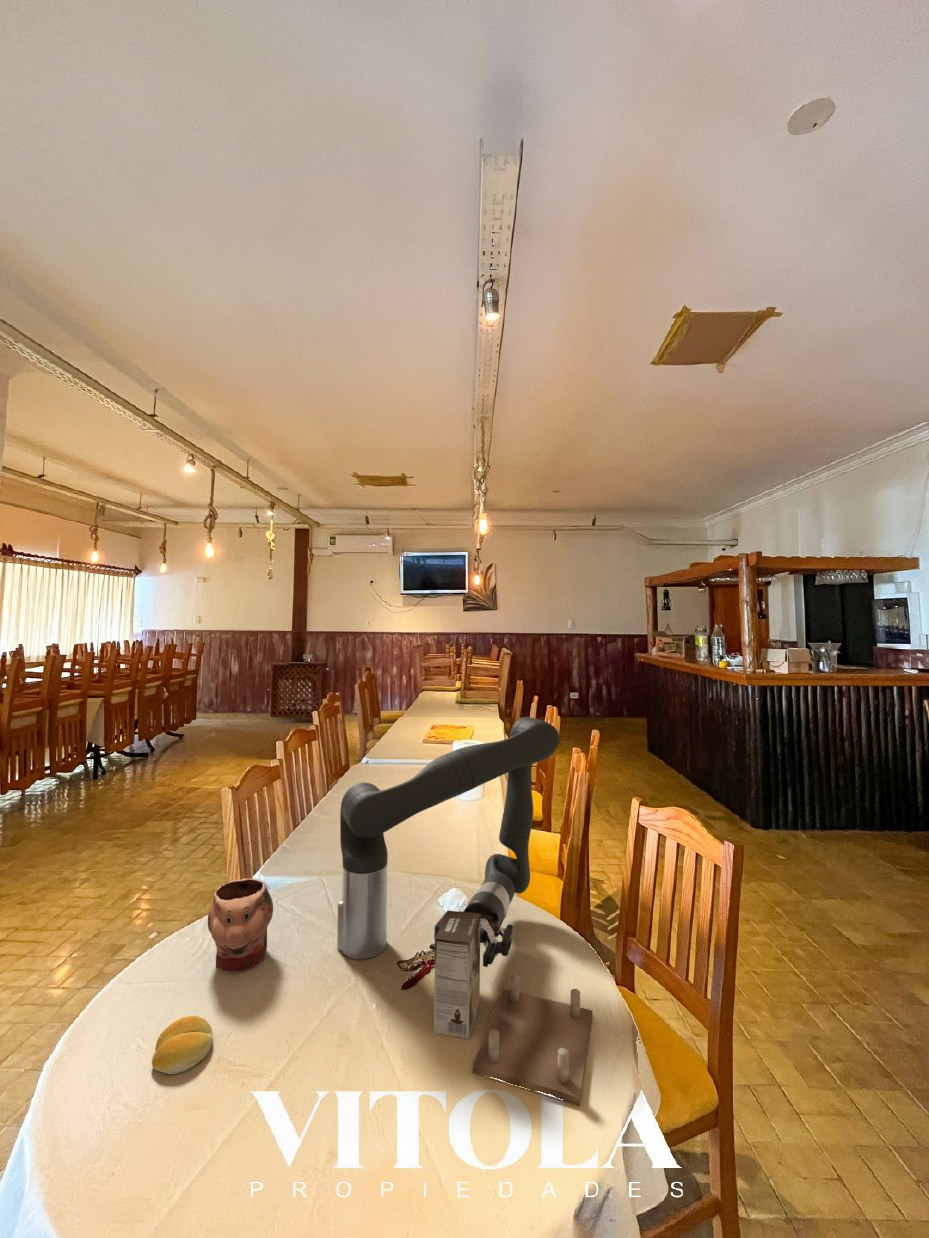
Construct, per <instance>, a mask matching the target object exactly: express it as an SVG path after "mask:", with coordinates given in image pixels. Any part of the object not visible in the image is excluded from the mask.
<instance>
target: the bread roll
mask: <svg viewBox="0 0 929 1238" xmlns="http://www.w3.org/2000/svg"><path fill="white" fill-rule="evenodd" d="M213 1036H214V1035H213V1029H212V1026H211V1025H210V1023H209V1022H208V1021H207V1020H206V1019H205V1018H202V1017H200V1016H197V1015H196V1016H195V1015H192V1016H190V1015H189V1016H184V1017H182V1018H179V1019H177V1020H175V1021H173V1022H171V1024H169V1025H168V1026H167V1027H166V1028H164V1030H163V1031H162V1032H161V1033H160V1034H159V1035H158V1038H157V1039H156V1040H157V1041H156V1042H155V1048H154V1049H155V1050H154V1051H155V1052H154V1054H153V1056H152V1058H151V1059H152V1060H151V1066H152V1068H153V1070H155V1071H157V1072H160V1073H164V1074H169V1075H177V1074H181V1073H184V1072H186V1071H189V1070H190V1069H191V1068H193V1067H195V1066H196V1065H197V1064H199V1063H200V1062H202V1060H203V1059H205V1058H206V1057H207V1055H208V1054H209V1052H210V1050H211V1048H212V1045H213V1043H214V1042H213V1041H214V1037H213Z"/></svg>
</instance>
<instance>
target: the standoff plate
mask: <svg viewBox="0 0 929 1238" xmlns="http://www.w3.org/2000/svg"><path fill="white" fill-rule="evenodd" d="M520 979H521V978H520V976H519V975H518V974H511V975H510V985H509V987H510V989H507V988H502V990H501V993H500V995H499V998H498V1000H497V1003H496V1006H495V1007H494V1010H493V1013H492V1014H491V1018H490V1020H489V1022H488V1025H487V1028H486V1030H485V1033H484V1035H483V1038H482V1040H481V1044H480V1046H479V1047H478V1050H477V1053H476V1056H475V1059H474V1060H473V1063H472V1074H474V1075H476V1076H477V1075H478V1076H480V1077H483V1076H487V1077H493V1078H497V1079H500V1080H503V1081H505V1082H507V1083H510V1084H513V1085H517V1086H521V1087H524V1088H527V1089H530V1090H532V1091H531V1092H533V1091H540V1092H543V1093H546V1094H551V1095H553V1096H555V1097H557V1098H560V1099H563V1102H566V1103H569V1104H572V1105H576V1106H580V1105H581V1098H582V1092H583V1084H584V1078H585V1071H586V1064H587V1063H586V1062H587V1056H588V1051H589V1050H588V1049H589V1043H590V1038H591V1037H590V1035H591V1029H592V1021H593V1009H589V1008H584V1007H581V991H580V990H579V989H577V988H572V989H570V1004H568V1003H564V1002H561V1001H556V1000H552V999H548V998H543V997H540V996H535V995H532V994H527V993H523V992H520ZM487 1077H486V1078H487ZM510 1084H509V1085H510ZM513 1085H512V1086H513Z"/></svg>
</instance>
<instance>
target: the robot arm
mask: <svg viewBox="0 0 929 1238" xmlns="http://www.w3.org/2000/svg"><path fill="white" fill-rule="evenodd" d="M560 737H561V736H560V734H559V731H558V730H557V728H556V727H555V726H554V725H552V724H551V723H549V722H548V721H545V720H542V719H537V718H535V717H534V718H533V717H528V716H525V717H520V718H518V719H517V720H516V721H515V722H514V723H513V724H512V727H511V729H510V732H509V737H507V738H504V739H502V740H498V741H493V742H492V741H491V742H484V743H479V744H473V745H468V746H464V747H461V748H458V749H455V750H453V751H450V752H448V753H445V754H443V755H441V756H438V757H436V758H435V759H433V760H432V761H431V762H429V763H428V764H427V765H426V766H425V767H423V769H421V770H420V771H419V772H418V773H417V774H416V775H414V776H413V777H411V778H410V779H408V780H406V781H404V782H402V783H399V784H396V785H394V786H392V787H389V788H385V789H382V790H381V789H380V788H378V786H376V785H374V784H373V783H371V782H359V783H355V784H354V785H352V786H351V787H349V789H347V791H346V792H345V793H344V795H343V797H342V799H341V803H340V809H339V810H340V812H339V813H340V814H339V816H340V817H339V818H340V820H339V823H340V824H339V825H340V828H339V829H340V830H339V832H340V834H339V835H340V849H341V850H340V851H341V858H342V872H341V873H342V877H341V878H342V879H341V880H342V881H341V884H342V885H341V887H342V894H341V896H342V897H341V900H339V902H338V903H337V937H336V939H337V941H336V942H337V944H336V946H337V947H336V948H337V950H339V951H341V952H342V953H343V954H344V955H345V956H346V957H348V958H350V959H353V960H367V959H371V958H374V957H376V956H378V955H380V954H381V953H383V951H384V950H385V949H386V947H387V937H388V936H387V926H388V925H387V921H388V919H387V917H388V916H387V915H388V913H387V912H388V907H387V906H388V857H389V856H388V848H387V845H386V841H385V840H386V839H385V835H384V833H386V832H387V831H389V830H391V829H392V828H394V827H396V826H397V825H400V824H401V823H403V822H405V821H407V820H408V819H410V818H411V817H413V816H415V815H418V814H419V813H422V812H424V811H425V810H428V809H431V808H432V807H435V806H437V805H439V804H442V803H443V802H447V801H449V800H451V799H453V798H456V797H458V796H460V795H462V794H464V793H467V792H469V791H472V790H473V789H475V788H478V787H479V786H482V785H484V784H486V783H488V782H490V781H493V780H495V779H497V778H499V777H501V776H503V775H505V774H507V781H506V782H507V783H506V794H505V795H506V796H505V800H504V801H505V802H504V807H503V813H502V818H501V824H500V830H499V833H498V841H499V842H500V844H501V845H503V846H504V847H506V848H508V849H509V850H511V851H512V853H514V855H515V857H516V858H514V857H512V856H508V855H504V854H502V853H494V854H492V855H491V856H489V858H488V859H487V861H486V863H485V867H484V869H485V870H484V880H483V882H482V883H481V886H480V887H479V888H478V889H477V890H476V891H475V892H474V894H473V896H472V897H471V898H470V901H469V902H468V904H467V905H466V907H465V909H464V910H463V912H469V913H477V914H481V920H480V945H481V944H483V947H484V948H485V950H484V952H483V955H482V966H483V967H485V968H488V966H490V965H492V964H493V963H494V960H495V958H496V957H497V956H498V954H501V956H503V957H508V956H509V953H510V950H511V946H512V943H513V941H514V940H513V939H514V926H513V925H512V924H507V925H506V927H502V925H503V923H504V920H505V919H506V917H507V916H508V915H507V914H508V910H509V907H510V904H511V903H512V901H513V898H514V896H515V894H523V893H524V892H525V891H526V890H527V889H528V888H529V886H530V883H531V882H530V881H531V870H530V869H531V868H530V861H529V860H530V856H529V848H530V847H529V845H530V844H529V843H530V836H531V831H532V825H533V819H534V800H533V799H534V798H533V792H532V783H531V781H532V776H531V775H532V767H533V764H535V763H540V762H542V761H545V760H546V759H549V758H550V757H552V756H553V754H555V752H556V751H557V749H558V748H559V744H560ZM445 914H446V912H445V913H444V914H442V917H441V918H439V920H438V921H437V922H436V924H435V925H434V935H433V937H434V938H433V939H434V941H435V937H436V935H437V933H438V930H439V928H440V926H441V924H442V921H443V919H444V917H445ZM499 936H501V937H500V938H501V941H499V940H498V939H497V938H498V937H499Z"/></svg>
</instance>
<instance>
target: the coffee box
mask: <svg viewBox="0 0 929 1238" xmlns="http://www.w3.org/2000/svg"><path fill="white" fill-rule="evenodd" d="M445 913H446V914H445ZM445 913H444V914H445V917H444V919H443V921H442V924H441V926H440V928H439V930H438V933H437V935H436V937H435V940H434V984H433V985H434V991H433V999H434V1000H433V1001H434V1002H433V1033H435V1034H438V1035H443V1036H444V1035H446V1036H451V1037H456V1038H457V1037H458V1038H464V1039H470V1037H471V1034H472V1032H473V1027H474V1025H475V1019H476V1016H477V1012H478V1008H479V1004H480V1001H481V1000H480V998H481V997H480V992H481V991H480V987H481V985H480V984H481V981H480V979H481V974H480V973H481V944H480V920H481V914H477V913H469V912H464V911H460V910H459V911H457V910H447V911H446V912H445Z"/></svg>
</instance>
